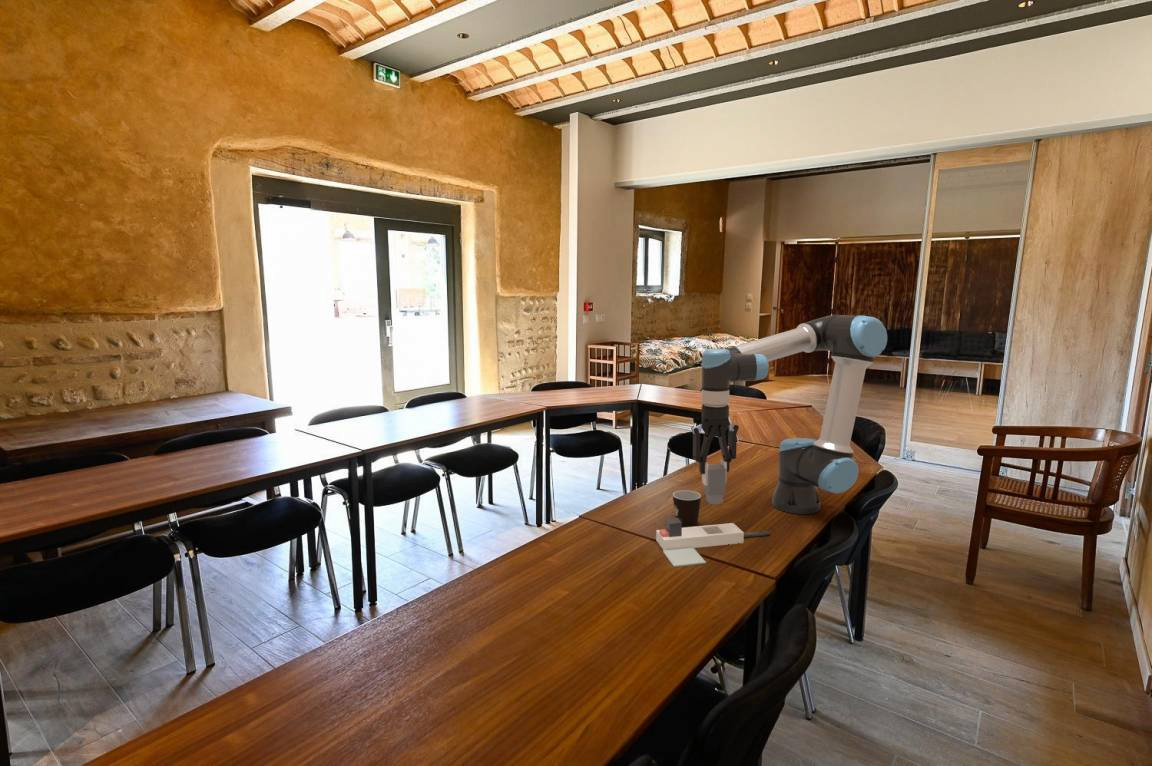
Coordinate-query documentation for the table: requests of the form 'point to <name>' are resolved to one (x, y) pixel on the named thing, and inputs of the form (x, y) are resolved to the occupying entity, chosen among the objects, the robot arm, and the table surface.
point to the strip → (700, 535)
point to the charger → (715, 484)
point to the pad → (684, 557)
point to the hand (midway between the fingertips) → (714, 483)
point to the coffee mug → (687, 507)
